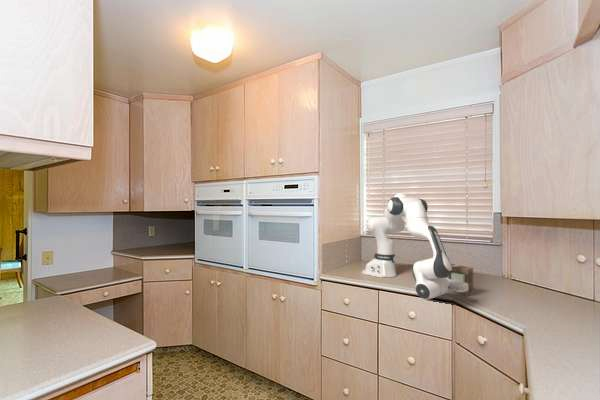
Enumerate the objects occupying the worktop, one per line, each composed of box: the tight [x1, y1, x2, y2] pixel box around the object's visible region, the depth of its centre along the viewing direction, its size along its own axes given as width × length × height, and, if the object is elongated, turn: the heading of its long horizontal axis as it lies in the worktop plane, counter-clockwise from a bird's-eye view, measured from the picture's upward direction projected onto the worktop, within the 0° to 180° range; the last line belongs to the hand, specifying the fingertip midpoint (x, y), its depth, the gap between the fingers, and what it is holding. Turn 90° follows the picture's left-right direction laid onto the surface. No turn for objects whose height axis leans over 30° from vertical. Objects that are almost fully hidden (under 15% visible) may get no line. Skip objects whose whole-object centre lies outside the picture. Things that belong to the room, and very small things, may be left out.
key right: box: [451, 272, 466, 283], centre depth 166 cm, size 6×4×6 cm
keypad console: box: [448, 263, 474, 297], centre depth 174 cm, size 24×6×15 cm, turn 37°
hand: (453, 280), depth 163 cm, fingers closed
